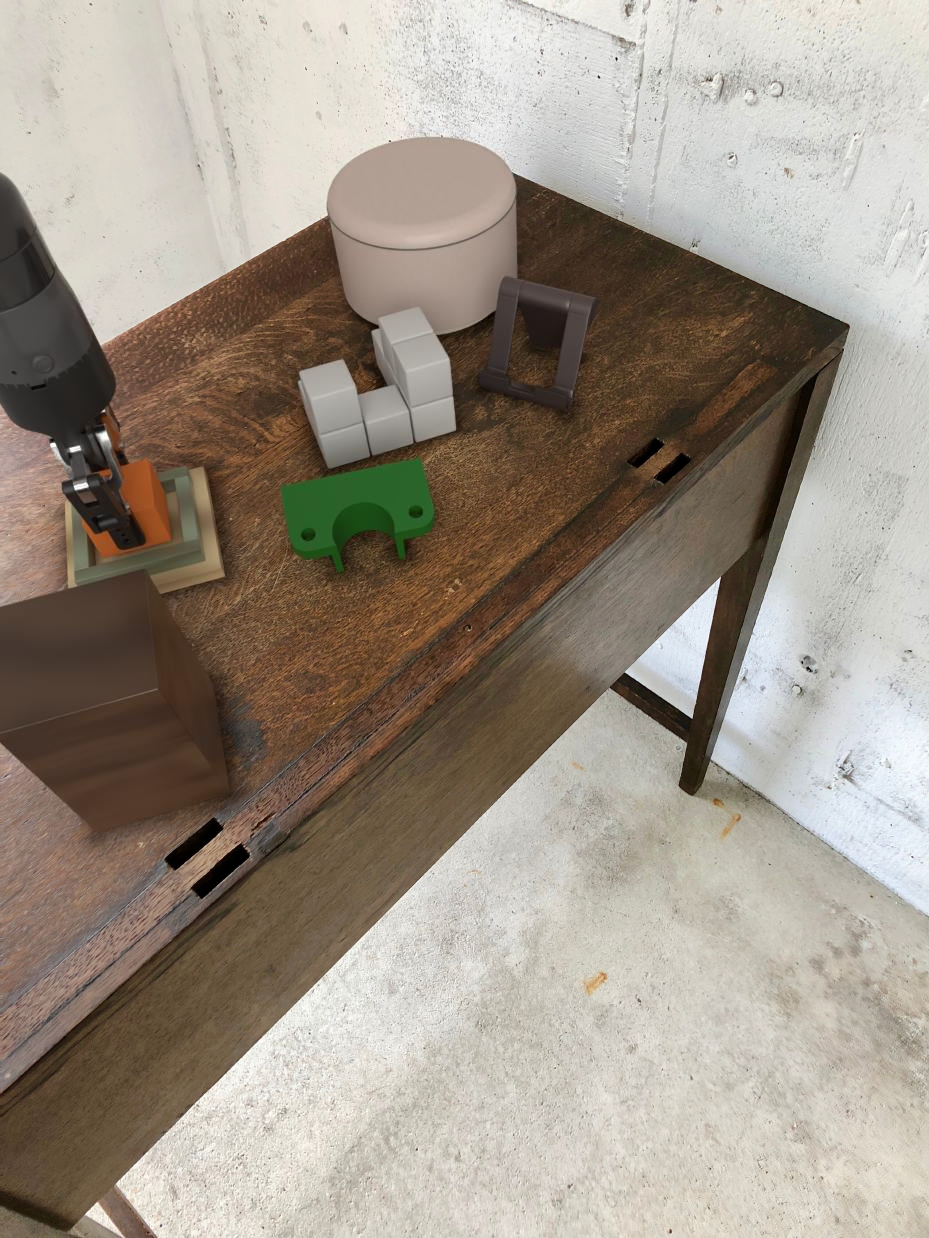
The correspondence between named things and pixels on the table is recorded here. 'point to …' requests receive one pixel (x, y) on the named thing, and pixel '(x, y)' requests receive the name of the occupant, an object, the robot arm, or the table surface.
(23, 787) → the table surface
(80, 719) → the stand
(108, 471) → the orange square block
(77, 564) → the square tray
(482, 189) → the container
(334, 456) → the gray cube puzzle piece
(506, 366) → the tablet stand
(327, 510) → the clamp
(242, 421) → the table surface
